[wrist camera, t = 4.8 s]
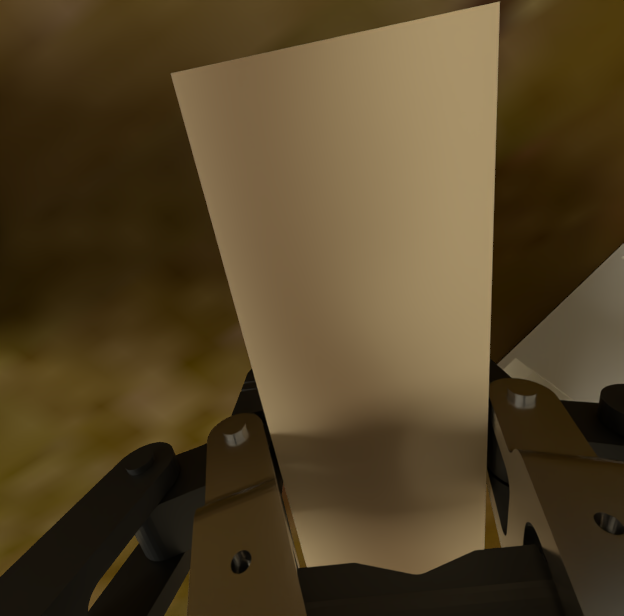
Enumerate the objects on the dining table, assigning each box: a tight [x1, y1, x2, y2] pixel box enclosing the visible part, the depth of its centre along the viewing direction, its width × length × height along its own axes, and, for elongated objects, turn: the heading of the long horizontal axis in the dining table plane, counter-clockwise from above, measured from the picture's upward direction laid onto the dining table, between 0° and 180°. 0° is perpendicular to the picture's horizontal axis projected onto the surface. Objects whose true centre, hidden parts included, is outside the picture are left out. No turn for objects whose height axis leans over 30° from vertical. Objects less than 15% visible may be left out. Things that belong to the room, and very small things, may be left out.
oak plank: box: [171, 2, 500, 574], centre depth 9 cm, size 4×15×5 cm, turn 10°
